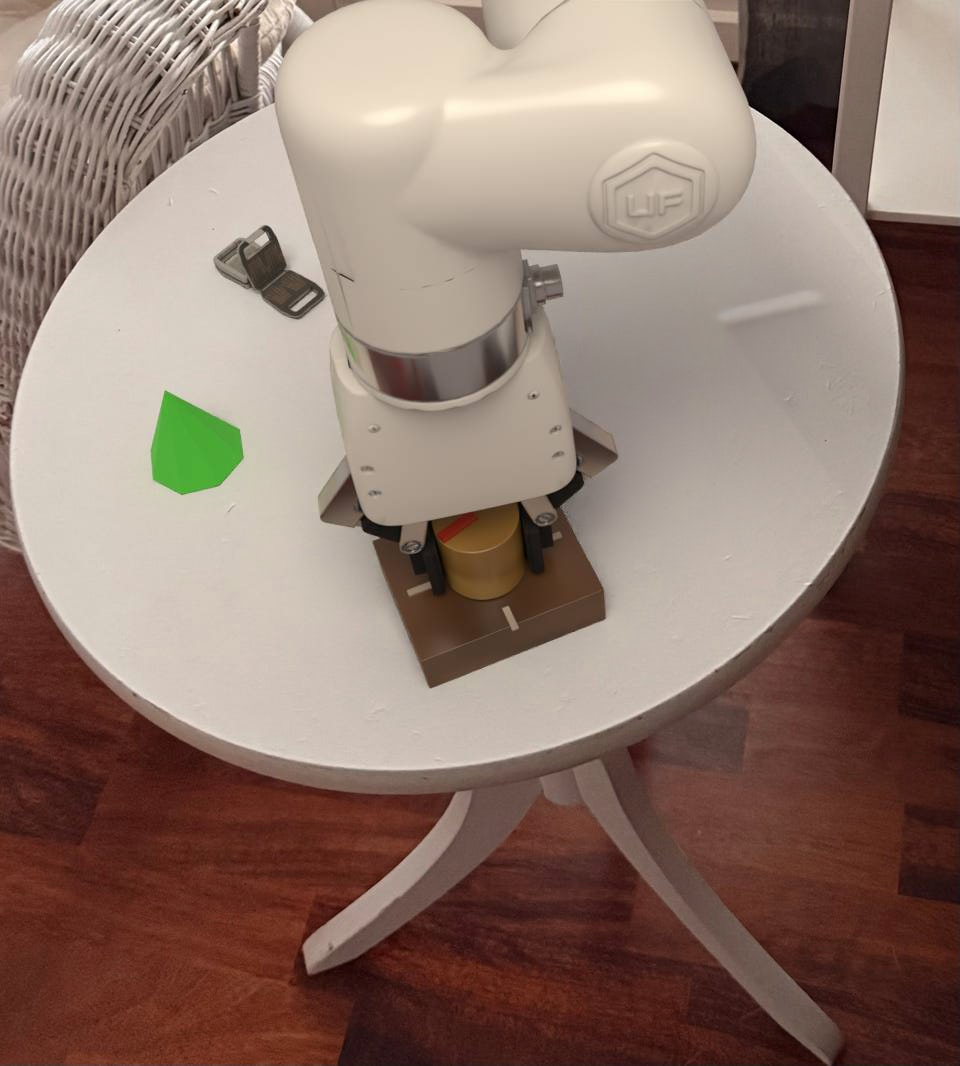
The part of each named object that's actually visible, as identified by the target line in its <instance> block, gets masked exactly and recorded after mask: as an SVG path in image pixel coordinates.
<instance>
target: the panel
mask: <svg viewBox="0 0 960 1066" xmlns="http://www.w3.org/2000/svg"><path fill="white" fill-rule="evenodd" d="M556 512H557V516H558V517H557V520H556V521H555V522H554V523H552V524H551V527H552V535H553V543H554V546H553V547H548V548H543V549H542V554H543V562H544V569H545V572H542V573H537V574H535V572H531V571H530V567H529V563H528V559H527V566H526V571H525V574H524V576H523V578H522V579H521V581H520V582H519V583H518V585H517V586H516V587H515V588H513V589H512V590H511V591H510V592H508V593H506V594H504V595H502V596H500V597H497V598H493V599H488V600H477V599H471V598H468V597H465V596H463V595H461V594H459V593H458V592H456V591H455V590H454V589H453V588H452V587H451V586H450V585H449V584H448V582H447V580H446V578H445V576H444V578H445V583H446V589H447V590H444V591H443V593H442V594H437V595H433V591H432V587H431V584H430V580H429V577H428V573H425V574H420V575H415V573H414V570H413V566H412V563H411V560H410V556H409V554H405V553H403V552H401V551H400V546H399V543H397V542H394V541H390V540H387V539H384V538H380V537H378V538H377V539H374V540H372V541H371V543H372V546H373V549H374V551H375V552H374V553H375V554H376V557H377V560H378V563H379V567H380V570H381V573H382V575H383V577H384V579H385V583H386V584H387V587H388V590H389V592H390V594H391V597H392V599H393V602H394V604H395V608H396V609H397V612H398V614H399V617H400V619H401V621H402V623H403V627H404V629H405V632H406V634H407V636H408V639H409V641H410V643H411V647H412V649H413V651H414V654H415V656H416V658H417V661H418V663H419V666H420V669H421V672H422V674H423V676H424V678H425V680H426V683H427V685H428V688H429V689H432V688H436V687H437V686H441V685H443V684H446V683H448V682H451V681H453V680H455V679H458V678H460V677H462V676H465V675H467V674H470V673H473V672H476V671H478V670H481V669H483V668H485V667H488V666H490V665H493V664H496V663H498V662H500V661H503V660H505V659H507V658H510V657H513V656H515V655H519V654H521V653H523V652H526V651H528V650H531V649H533V648H535V647H538V646H541V645H544V644H546V643H548V642H551V641H554V640H557V639H559V638H561V637H564V636H566V635H568V634H571V633H575V632H576V631H578V630H581V629H583V628H586V627H589V626H591V625H593V624H596V623H598V622H599V623H600V622H601V621H605V620H606V619H607V614H606V597H605V588H604V586H603V585H602V583H601V580H600V578H599V576H598V574H597V573H596V571H595V569H594V568H593V565H592V564H591V562H590V560H589V558H588V555H587V554H586V553H585V551H584V549H583V547H582V545H581V543H580V541H579V539H578V537H577V535H576V534H575V531H574V530H573V527H572V526H571V524H570V522H569V520H568V518H567V517H566V515H565V512H564V511H563V509H562V507H561V506H560V507H559V508H558V509H556ZM526 556H527V554H526ZM443 573H444V572H443Z"/></svg>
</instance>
